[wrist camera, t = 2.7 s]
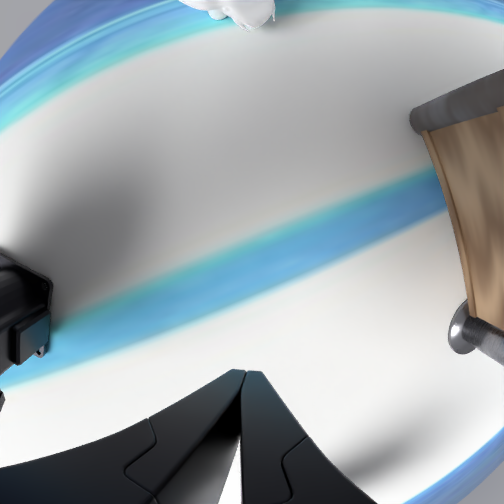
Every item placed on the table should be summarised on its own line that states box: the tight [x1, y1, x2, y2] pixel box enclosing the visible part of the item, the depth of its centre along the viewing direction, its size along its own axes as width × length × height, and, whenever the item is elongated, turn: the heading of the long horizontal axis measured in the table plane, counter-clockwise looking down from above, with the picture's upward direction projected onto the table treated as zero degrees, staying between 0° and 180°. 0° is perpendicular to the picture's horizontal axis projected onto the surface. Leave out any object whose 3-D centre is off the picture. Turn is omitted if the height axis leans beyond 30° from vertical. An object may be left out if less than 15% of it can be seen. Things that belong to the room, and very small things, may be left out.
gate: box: [410, 69, 504, 331], centre depth 14 cm, size 16×2×9 cm, turn 25°
